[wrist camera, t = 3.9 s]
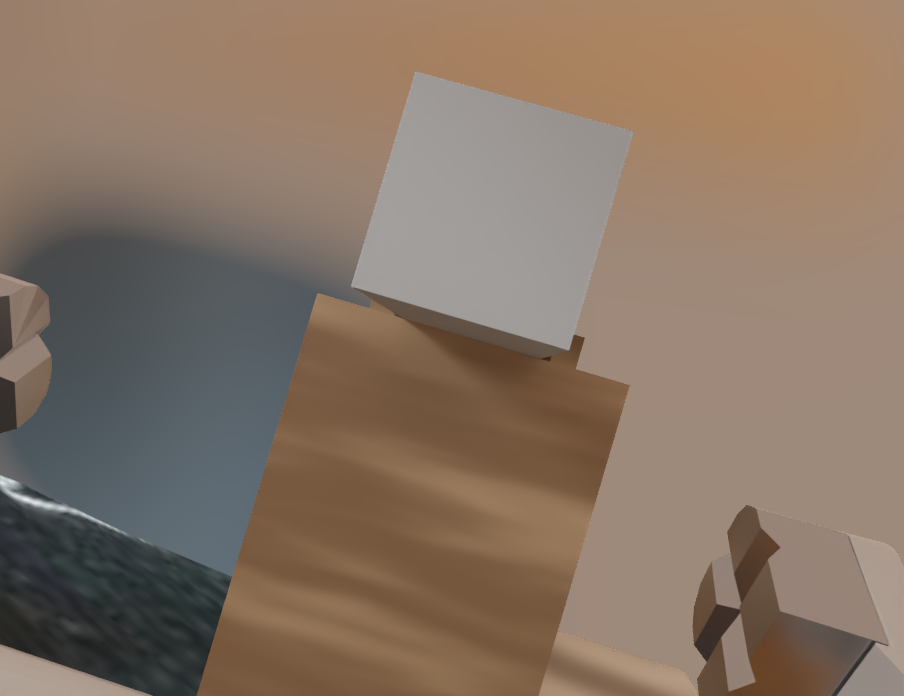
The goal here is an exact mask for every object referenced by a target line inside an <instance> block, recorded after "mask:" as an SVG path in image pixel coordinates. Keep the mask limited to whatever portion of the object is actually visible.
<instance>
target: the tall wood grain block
mask: <svg viewBox="0 0 904 696" xmlns="http://www.w3.org/2000/svg"><path fill="white" fill-rule="evenodd" d="M583 342H584V337H580V336H577V335H574V336H573V339H572V342H571V346H570V349H569V351H566V352H562V353H559V354H556V355H553V356H549V357H546V358H543V359H539V358H536V357H532V356H529V355H526V354H522V353H519V352H515V351H512V350H509V349H505V348H502V347H498V346H495V345H492V344H488V343H485V342H481V341H478V340H475V339H471V338H468V337H464V336H461V335H458V334H454V333H451V332H448V331H444V330H441V329H437V328H434V327H431V326H427V325H424V324H420V323H417V322H414V321H410V320H407V319H404V318H402V317H400V316H399V315H397V314H395V313H394V312H392V311H390V310H389V309H387V308H386V307H384V306H382V305H381V304H379V303H377V302H376V301H374V300H372V302H371V305H370V308H366V307H363V306H359V305H356V304H353V303H349V302H346V301H342V300H338V299H336V298H332V297H329V296H325V295H322V294H317V297H316V300H315V303H314V307H313V310H312V314H311V317H310V320H309V324H308V327H307V330H306V333H305V337H304V340H303V343H302V347H301V350H300V354H299V357H298V360H297V363H296V367H295V370H294V373H293V377H292V380H291V383H290V387H289V390H288V394H287V397H286V400H285V403H284V407H283V410H282V414H281V417H280V420H279V424H278V427H277V430H276V433H275V437H274V440H273V444H272V447H271V450H270V453H269V457H268V460H267V463H266V467H265V470H264V473H263V477H262V480H261V483H260V487H259V490H258V494H257V497H256V500H255V503H254V507H253V510H252V513H251V517H250V520H249V523H248V527H247V530H246V534H245V537H244V540H243V543H242V547H241V550H240V553H239V557H238V560H237V563H236V567H235V570H234V573H233V577H232V580H231V583H230V586H229V590H228V593H227V596H226V600H225V603H224V606H223V610H222V613H221V616H220V620H219V623H218V626H217V630H216V633H215V636H214V640H213V643H212V646H211V650H210V653H209V656H208V660H207V663H206V666H205V670H204V673H203V676H202V680H201V683H200V686H199V690H198V693H197V696H699V695H698V693H697V692H696V690H695V688H694V687H693V685H692V684H691V682H690V680H689V679H688V678H687V676H686V674H685V673H684V671H683V670H680V669H677V668H674V667H671V666H667V665H664V664H661V663H658V662H655V661H652V660H648V659H645V658H642V657H639V656H636V655H633V654H629V653H626V652H623V651H620V650H617V649H614V648H610V647H607V646H604V645H601V644H598V643H595V642H591V641H588V640H585V639H582V638H579V637H575V636H572V635H569V634H566V633H563V632H560V631H558V628H559V624H560V621H561V618H562V614H563V610H564V607H565V604H566V600H567V597H568V594H569V590H570V587H571V583H572V580H573V576H574V573H575V570H576V566H577V563H578V560H579V556H580V553H581V549H582V546H583V542H584V539H585V536H586V532H587V529H588V525H589V522H590V519H591V515H592V512H593V508H594V505H595V502H596V498H597V495H598V491H599V487H600V485H601V481H602V478H603V474H604V471H605V467H606V464H607V460H608V457H609V454H610V450H611V447H612V444H613V440H614V437H615V433H616V430H617V427H618V423H619V420H620V416H621V413H622V409H623V406H624V403H625V399H626V396H627V392H628V389H629V385H627V384H624V383H620V382H617V381H614V380H610V379H607V378H604V377H600V376H597V375H593V374H590V373H587V372H583V371H580V370H576V366H577V362H578V359H579V356H580V352H581V349H582V345H583Z"/></svg>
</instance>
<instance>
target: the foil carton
mask: <svg viewBox="0 0 904 696" xmlns="http://www.w3.org/2000/svg"><path fill="white" fill-rule="evenodd" d="M632 135H633V131H630V130H626V129H623V128H619V127H616V126H612V125H608V124H605V123H601V122H597V121H594V120H590V119H587V118H583V117H579V116H576V115H572V114H568V113H565V112H561V111H557V110H553V109H550V108H547V107H543V106H539V105H535V104H532V103H528V102H525V101H521V100H517V99H514V98H510V97H507V96H503V95H499V94H496V93H492V92H489V91H485V90H481V89H477V88H474V87H470V86H467V85H463V84H459V83H456V82H452V81H449V80H445V79H441V78H438V77H434V76H430V75H426V74H423V73H420V72H415V75H414V78H413V82H412V85H411V88H410V92H409V95H408V98H407V102H406V105H405V108H404V112H403V115H402V118H401V122H400V125H399V128H398V132H397V135H396V138H395V142H394V145H393V148H392V152H391V155H390V158H389V162H388V165H387V168H386V172H385V175H384V178H383V182H382V185H381V189H380V192H379V195H378V198H377V202H376V205H375V208H374V212H373V215H372V218H371V222H370V225H369V228H368V232H367V235H366V238H365V242H364V246H363V249H362V252H361V255H360V259H359V262H358V265H357V269H356V272H355V275H354V279H353V282H352V285H351V287H353V288H354V289H356V290H358V291H359V292H361V293H363V294H364V295H366V296H368V297H369V298H371V299H372V300H374V301H376V302H377V303H379V304H381V305H382V306H384V307H386V308H387V309H389V310H390V311H392V312H394V313H395V314H397V315H399V316H400V317H402V318H404V319H407V320H410V321H414V322H417V323H420V324H424V325H427V326H431V327H434V328H437V329H441V330H444V331H448V332H451V333H454V334H458V335H461V336H464V337H468V338H471V339H475V340H478V341H481V342H485V343H488V344H492V345H495V346H498V347H502V348H505V349H509V350H512V351H515V352H519V353H522V354H526V355H529V356H532V357H536V358H539V359H543V358H546V357H549V356H553V355H556V354H559V353H562V352H566V351H569V349H570V346H571V342H572V339H573V336H574V332H575V329H576V325H577V322H578V318H579V315H580V312H581V308H582V305H583V301H584V298H585V295H586V291H587V288H588V285H589V281H590V278H591V274H592V271H593V267H594V264H595V261H596V257H597V254H598V251H599V247H600V244H601V240H602V237H603V234H604V230H605V227H606V224H607V220H608V217H609V213H610V210H611V207H612V203H613V200H614V197H615V193H616V190H617V186H618V183H619V179H620V176H621V173H622V170H623V166H624V163H625V159H626V156H627V152H628V149H629V145H630V142H631V139H632Z"/></svg>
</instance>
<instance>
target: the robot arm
mask: <svg viewBox="0 0 904 696" xmlns="http://www.w3.org/2000/svg"><path fill="white" fill-rule="evenodd" d="M49 323H50V312H49V299H48V296H47V295H46V294H45V293H44V292H43V291H42V289H41V288H40V287H39V286H37V285H34V284H31V283H28V282H24V281H22V280H19V279H15V278H12V277H10V276H6V275H3V274H0V433H3V432H6V431H10V430H13V429H17V428H18V427H19V426H21V425H22V424H23V423H24V422H25V421H26V420H28V419H29V418H30V417H31V416H32V415H33V414H34V413H35V411H36V410H37V408H38V407H39V405H40V403H41V402H42V400H43V398H44V397H45V395H46V393H47V390H48V386H49V381H50V377H51V354H50V353H49V351H48V349H47V348H46V346H45V345H44V343H43V341H42V340H41V338H40V337H39V334H40V333H41V331H43V329H44V328H45V327H46V326H47V325H48V324H49ZM728 539H729V545H730V553H728V554H726V555H724V556H722V557H720V558H718V559H716V560H714V561H712V562H711V563H710V566H709V568H708V570H707V572H706V574H705V576H704V578H703V580H702V582H701V584H700V587H699V591H698V595H697V598H696V602H695V606H694V615H693V637H694V645H695V647H696V648H697V649H698V651H699V652H700V653H701V655H702V656H703V658H704V659H705V660H706V662H707V663H706V665H705V666H704V668H703V670H702V672H701V673H700V675H699V677H698V679H697V681H698V691H699V696H904V567H903V565H902V563H901V560H900V558H899V556H898V554H897V552H896V551H895V550H893V549H892V548H891V547H890V546H889V545H888V544H886V543H882V542H878V541H874V540H871V539H867V538H863V537H860V536H856V535H852V534H849V533H845V532H841V531H840V532H839V531H835V530H831V529H828V528H824V527H821V526H818V525H814V524H811V523H807V522H804V521H800V520H797V519H793V518H790V517H787V516H783V515H779V514H776V513H773V512H769V511H766V510H762V509H759V508H755V507H752V506H748V505H746V506H745V507H744V508H743V509H742V510H741V511H740V512H739V513H738V514H737V516H736V518H735V520H734V521H733V523H732V525H731V527H730V528H729V530H728ZM0 696H151V695H149V694H146V693H143V692H140V691H137V690H134V689H131V688H128V687H125V686H122V685H119V684H116V683H113V682H110V681H107V680H104V679H101V678H98V677H95V676H92V675H89V674H86V673H83V672H80V671H77V670H74V669H71V668H68V667H66V666H63V665H60V664H57V663H54V662H51V661H48V660H45V659H42V658H39V657H36V656H33V655H30V654H27V653H24V652H21V651H18V650H15V649H12V648H9V647H6V646H3V645H0Z"/></svg>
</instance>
